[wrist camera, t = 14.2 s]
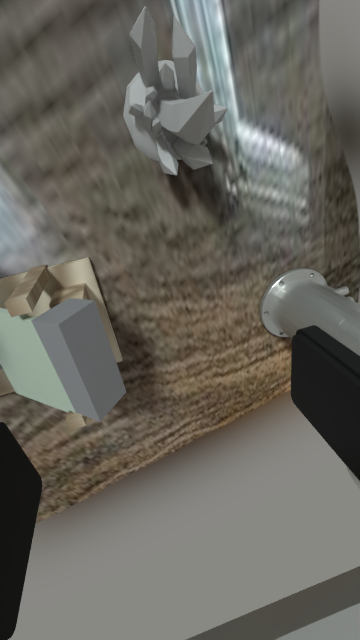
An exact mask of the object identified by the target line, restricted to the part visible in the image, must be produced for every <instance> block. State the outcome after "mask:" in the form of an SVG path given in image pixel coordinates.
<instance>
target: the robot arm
mask: <svg viewBox="0 0 360 640" xmlns="http://www.w3.org/2000/svg"><path fill="white" fill-rule="evenodd" d="M348 293H349V289H348V288H347V287H345V286H344V287H341V288H338V289H334V288H332V287H330V286H328V285H327V282H326V281H325V279H324V277H323V276H322V275H321V274H319V273H318V272H316V271H314V270H311V269H308V268H296V269H292V270H289V271H287V272H285V273H283V274H282V275H280V276H279V277H277V278H276V279H275V280H274V281H273V282H272V283H271V284H270V285H269V287H268V288H267V290H266V291H265V293H264V295H263V298H262V300H261V304H260V318H261V321H262V323H263V325H264V326H265V328H266V329H267V330H268V331H269V332H271V333H272V334H274V335H276V336H279V337H290V338H291V339H292V365H291V397H292V400H293V402H294V404H295V405H296V406H297V408H298V409H299V410H300V411H301V412H302V413H303V415H304V416H305V417H306V418H307V419H308V421H309V422H310V423H311V424H312V425H313V426H314V428H315V429H316V430H317V431H318V432H319V434H320V435H321V436H322V437H323V438H324V439H325V441H326V442H327V443H328V444H329V445H330V447H331V448H332V449H333V450H334V451H335V452H336V454H337V455H338V456H339V457H340V458H341V460H342V461H343V462H344V463H345V464H346V466H347V470H348V472H349V474H350V476H351V478H352V479H353V481H354V482H355V483H356V485H357V486H358V487H359V488H360V304H358V303H356V302H354V299H353V298H352V297H344V296H343V295H346V294H348ZM41 491H42V480H41V477H40V475H39V474H38V472H37V471H36V469H35V468H34V466H33V465H32V463H31V462H30V460H29V459H28V457H27V456H26V454H25V453H24V451H23V450H22V448H21V447H20V445H19V444H18V442H17V441H16V439H15V438H14V436H13V435H12V433H11V432H10V430H9V429H8V427H7V426H6V424H5V423H3V422H0V640H8V639H9V638H11V636H12V635H13V633H14V631H15V627H16V623H17V617H18V612H19V607H20V602H21V596H22V591H23V586H24V581H25V575H26V570H27V564H28V559H29V554H30V549H31V543H32V538H33V533H34V528H35V522H36V517H37V512H38V507H39V501H40V496H41ZM187 640H360V566H359V567H357V568H354V569H352V570H350V571H347V572H345V573H342V574H340V575H338V576H336V577H333V578H331V579H329V580H326V581H323V582H321V583H319V584H316V585H314V586H311V587H309V588H307V589H305V590H302V591H300V592H297V593H295V594H292V595H290V596H288V597H285V598H283V599H281V600H278V601H276V602H274V603H271V604H269V605H266V606H264V607H262V608H260V609H257V610H255V611H252V612H250V613H248V614H245V615H243V616H241V617H238V618H236V619H234V620H231V621H229V622H226V623H224V624H222V625H220V626H217V627H215V628H212V629H210V630H208V631H205V632H203V633H201V634H198V635H196V636H194V637H191V638H189V639H187Z"/></svg>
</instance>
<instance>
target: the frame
mask: <svg viewBox="0 0 360 640" xmlns="http://www.w3.org/2000/svg"><path fill="white" fill-rule="evenodd" d="M68 298H73V299H84V300H95V303H96V305H97V308H98V311H99V314H100V317H101V320H102V323H103V326H104V328H105V331H106V334H107V337H108V340H109V343H110V346H111V349H112V351H113V354H114V357H115V360H116V363H117V362H121V361H123V359H122V355H121V352H120V349H119V346H118V343H117V340H116V337H115V334H114V331H113V328H112V325H111V322H110V319H109V316H108V313H107V310H106V307H105V304H104V301H103V298H102V295H101V292H100V289H99V286H98V283H97V280H96V277H95V274H94V271H93V268H92V265H91V262H90V259H89V258H85V259H80V260H76V261H72V262H67V263H63V264H59V265H55V266H50V267H47V265H43V266H38V267H34V268H31V269H30V270H29V271H28V272H25V273H20V274H16V275H12V276H7V277H3V278H0V308H3V309H7V310H8V312H9V314H10V316H11V317H15V316H19V315H23V314H27V315H28V316H32V317H38V316H40V315H41V314H43V313H45V312H46V311H48V310H50V309H51V308H53V307H55V306H56V305H58V304H60V303H62V302H63V301H65V300H67V299H68ZM12 392H15V390H14V388H13V387H12V385H11V383H10V382H9V380H8V378H7V377H6V375H5V373H4V372H3V370H2V369H1V370H0V396H1V395H5V394H8V393H12ZM86 420H87V417H86V416H84V415H81V414H78V413H74V412H72V411H70V412H69V413H68V412H67V416H66V424H67V426H68V428H69V429H70V430H73V429H76V428H80V427H83V426H86Z"/></svg>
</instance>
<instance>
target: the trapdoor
mask: <svg viewBox="0 0 360 640" xmlns="http://www.w3.org/2000/svg"><path fill="white" fill-rule="evenodd" d="M0 364H1V366H2V370H3V372H4V373H5V375H6V377H7V378H8V380H9V382H10V383H11V385H12V387H13V388H14V390H15V392H16V393H17V394H20V395H23V396H25V397H28V398H31V399H33V400H36V401H39V402H41V403H44V404H47V405H49V406H52V407H55V408H57V409H60V410H63V411H65V412H68V413H69V412H70V411H72V412H74V413H78V414H81V415H84V416H86V417H89V418H92V419H95V420H97V421H101V420H102V419H103V418H104V417H105V416H106V415H107V413H108V412H109V411H110V410H111V409H112V408H113V407H114V406H115V404H116V403H117V402H118V401H119V400H120V399H121V398H122V396H123V395H124V394H125V393H126V389H125V386H124V383H123V380H122V377H121V374H120V372H119V369H118V366H117V363H116V360H115V357H114V354H113V351H112V349H111V346H110V343H109V340H108V337H107V334H106V331H105V328H104V326H103V323H102V320H101V317H100V314H99V311H98V308H97V305H96V303H95V300H84V299H73V298H68V299H67V300H65V301H63V302H62V303H60V304H58V305H56V306H55V307H53V308H51V309H50V310H48V311H46V312H45V313H43V314H41V315H40V316H38V317H32V316H28V315H27V314H23V315H19V316H15V317H11V316H10V314H9V312H8V310H7V309H3V308H0Z"/></svg>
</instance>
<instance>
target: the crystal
mask: <svg viewBox="0 0 360 640" xmlns="http://www.w3.org/2000/svg"><path fill="white" fill-rule="evenodd" d="M130 39H131V43H132V48H133V53H134V56H135V60H136V63H137V67H138V70H139V72H138V74H137V75H136V76H135V77H134V79H133V80H132V81H131V82H130V84H129V85H128V86H127V92H126V100H125V107H124V119H125V121H126V124H127V126H128V129H129V131H130V134H131V136H132V139H133V142H134V145H135V146H136V147H137V148H138V149H139V150H140V151H141V152H142V153H143V154H144V155H145V156H146V157H148V158H150V159H153V160H155V161H157V162H160V165H161V167H162V170H163V172H164V173H166V174H171V175H176V176H177V172H178V162H177V160H181V159H182V160H183V161H184V162H185V163H186V164H187V165H188V166H189V167H190V168H192V169H193V170H195V169H198V168H201V167H204V166H207V165H210V164H212V160H211V156H210V153H209V150H208V148H207V147H205V145H206V144H207V140H206V138H205V137H206V135H207V134H208V133H209V132H210V131H211V129H212V128H213V127H214V126H215V124H217V123H219V122H221V121H222V119H223V117H224V115H225V113H226V111H227V108H226V107H223V106H219V105H215V104H214V103H213V91H209V92H206V93H203V90H202V88H201V87H200V85H199V83H198V82H197V81H196V71H197V64H196V49H195V45H194V43H193V42H192V41H191V39H190V38H189V36H188V35H187V34H186V32H185V31H184V29H183V28H182V26H181V25H180V24H179V22H178V21H177V19H176V18H175V17H174V22H173V36H172V54H173V61H174V62H172V61H168V60H164V61H159V62H158V58H157V41H156V29H155V23H154V21H153V19H152V17H151V15H150V13H149V12H148V10H147V8H146V7H144V9H143V10H142V12H141V14H140V16H139V17H138V19H137V21H136V23H135V25H134V27H133V29H132V30H131V32H130Z"/></svg>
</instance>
